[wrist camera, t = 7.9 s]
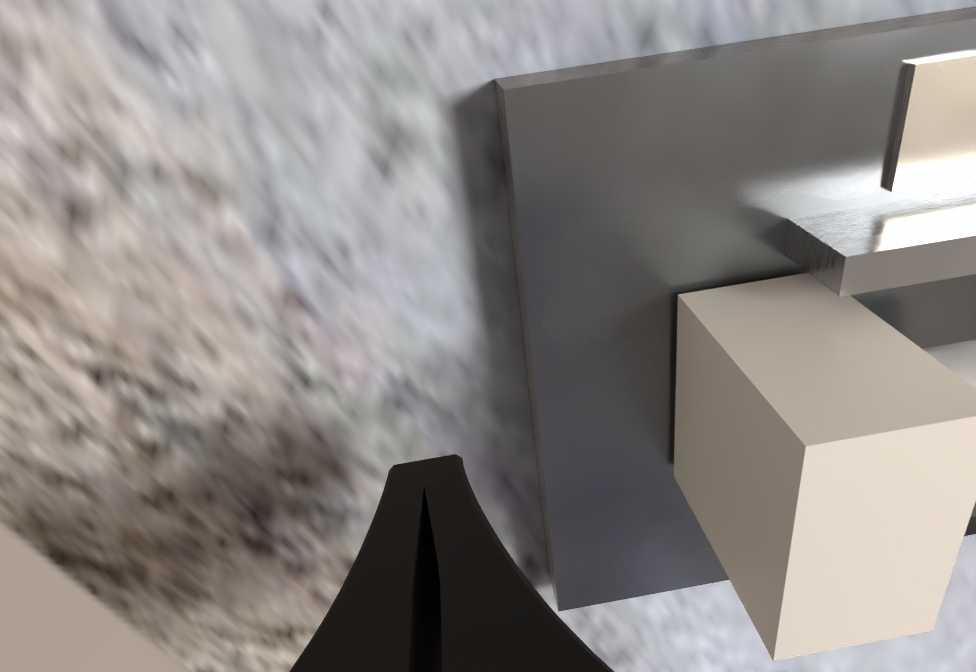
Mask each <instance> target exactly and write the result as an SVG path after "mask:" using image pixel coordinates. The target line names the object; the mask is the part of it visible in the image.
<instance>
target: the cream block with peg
mask: <svg viewBox="0 0 976 672" xmlns="http://www.w3.org/2000/svg"><path fill="white" fill-rule="evenodd" d="M674 477H675V479H676V481H677V483H678V485H679V486H680V488H681V490H682V492H683V494H684V496H685V498H686V499H687V501H688V503H689V505H690V507H691V509H692V511H693V512H694V514H695V516H696V518H697V520H698V522H699V524H700V525H701V527H702V529H703V531H704V533H705V535H706V537H707V538H708V540H709V542H710V544H711V546H712V548H713V550H714V551H715V553H716V555H717V557H718V559H719V561H720V563H721V564H722V566H723V568H724V570H725V572H726V574H727V576H728V578H729V579H730V581H731V583H732V585H733V587H734V589H735V591H736V592H737V594H738V596H739V598H740V600H741V602H742V604H743V605H744V607H745V609H746V611H747V613H748V615H749V617H750V618H751V620H752V622H753V624H754V626H755V628H756V630H757V631H758V633H759V635H760V637H761V639H762V641H763V643H764V644H765V646H766V648H767V650H768V652H769V654H770V656H771V657H772V659H773V661H776V660H781V659H786V658H792V657H797V656H802V655H807V654H812V653H818V652H823V651H828V650H833V649H838V648H844V647H849V646H854V645H859V644H865V643H870V642H875V641H880V640H885V639H891V638H896V637H901V636H906V635H911V634H917V633H922V632H927V631H932V630H933V628H934V625H935V622H936V619H937V616H938V613H939V610H940V607H941V604H942V601H943V598H944V595H945V592H946V589H947V586H948V583H949V580H950V577H951V574H952V571H953V568H954V565H955V562H956V559H957V556H958V553H959V550H960V547H961V544H962V541H963V538H964V535H965V532H966V529H967V526H968V523H969V520H970V517H971V514H972V511H973V508H974V505H975V502H976V340H970V341H964V342H958V343H952V344H946V345H941V346H935V347H929V348H923V349H922V348H920V347H919V346H917V345H916V344H915V343H913V342H912V341H911V340H909V339H908V338H907V337H905V336H904V335H903V334H901V333H900V332H899V331H897V330H896V329H895V328H893V327H892V326H890V325H889V324H888V323H886V322H885V321H884V320H882V319H881V318H880V317H878V316H877V315H876V314H874V313H873V312H872V311H870V310H869V309H867V308H866V307H865V306H863V305H862V304H861V303H859V302H858V301H857V300H855V299H854V298H853V297H851V296H850V295H848V296H842V297H839V296H837V295H836V294H835V293H834V292H832V291H831V290H830V289H828V288H827V287H826V286H824V285H823V284H822V283H820V282H819V281H818V280H816V279H815V278H814V277H813V276H811V275H810V274H809V273H804V274H798V275H792V276H786V277H780V278H774V279H768V280H762V281H756V282H750V283H744V284H738V285H732V286H726V287H720V288H714V289H708V290H702V291H696V292H690V293H684V294H678V314H677V356H676V398H675V440H674Z"/></svg>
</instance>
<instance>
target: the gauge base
mask: <svg viewBox="0 0 976 672" xmlns="http://www.w3.org/2000/svg"><path fill="white" fill-rule="evenodd" d="M495 86H496V95H497V104H498V113H499V122H500V131H501V140H502V149H503V158H504V167H505V176H506V185H507V194H508V203H509V212H510V221H511V230H512V239H513V248H514V257H515V266H516V275H517V284H518V293H519V302H520V311H521V320H522V329H523V338H524V347H525V356H526V365H527V374H528V383H529V392H530V401H531V410H532V419H533V428H534V437H535V446H536V455H537V464H538V473H539V482H540V491H541V500H542V509H543V518H544V527H545V536H546V545H547V554H548V563H549V572H550V579H551V583H552V587H553V591H554V595H555V599H556V603H557V607H558V611H563V610H569V609H574V608H579V607H585V606H590V605H595V604H601V603H606V602H612V601H617V600H622V599H628V598H633V597H638V596H644V595H649V594H655V593H660V592H665V591H671V590H676V589H681V588H687V587H692V586H698V585H703V584H708V583H714V582H719V581H725V580H730V579H729V578H728V576H727V574H726V572H725V570H724V568H723V566H722V564H721V563H720V561H719V559H718V557H717V555H716V553H715V551H714V550H713V548H712V546H711V544H710V542H709V540H708V538H707V537H706V535H705V533H704V531H703V529H702V527H701V525H700V524H699V522H698V520H697V518H696V516H695V514H694V512H693V511H692V509H691V507H690V505H689V503H688V501H687V499H686V498H685V496H684V494H683V492H682V490H681V488H680V486H679V485H678V483H677V481H676V479H675V477H674V440H675V398H676V356H677V314H678V294H684V293H690V292H696V291H702V290H708V289H714V288H720V287H726V286H732V285H738V284H744V283H750V282H756V281H762V280H768V279H774V278H780V277H786V276H792V275H798V274H804V273H809V274H810V275H811V276H813V277H814V278H815V279H816V280H818V281H819V282H820V283H822V284H823V285H824V286H826V287H827V288H828V289H830V290H831V291H832V292H834V293H835V294H836V295H837V296H839V297H842V296H848V295H850V296H851V297H853V298H854V299H855V300H857V301H858V302H859V303H861V304H862V305H863V306H865V307H866V308H867V309H869V310H870V311H872V312H873V313H874V314H876V315H877V316H878V317H880V318H881V319H882V320H884V321H885V322H886V323H888V324H889V325H890V326H892V327H893V328H895V329H896V330H897V331H899V332H900V333H901V334H903V335H904V336H905V337H907V338H908V339H909V340H911V341H912V342H913V343H915V344H916V345H917V346H919V347H920V348H922V349H923V348H929V347H935V346H941V345H946V344H952V343H958V342H964V341H970V340H976V7H970V8H964V9H957V10H950V11H944V12H937V13H930V14H924V15H917V16H910V17H904V18H897V19H891V20H884V21H877V22H871V23H864V24H857V25H851V26H844V27H837V28H831V29H824V30H818V31H811V32H804V33H798V34H791V35H784V36H778V37H771V38H764V39H758V40H751V41H744V42H738V43H731V44H725V45H718V46H711V47H705V48H698V49H691V50H685V51H678V52H671V53H665V54H658V55H652V56H645V57H638V58H632V59H625V60H618V61H612V62H605V63H598V64H592V65H585V66H578V67H572V68H565V69H559V70H552V71H545V72H539V73H532V74H525V75H519V76H512V77H505V78H499V79H495ZM972 534H976V502H975V505H974V508H973V511H972V514H971V517H970V520H969V523H968V526H967V529H966V532H965V535H964V536H967V535H972Z"/></svg>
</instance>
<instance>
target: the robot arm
mask: <svg viewBox="0 0 976 672" xmlns="http://www.w3.org/2000/svg"><path fill="white" fill-rule="evenodd" d="M290 672H614V671H613V670H612V669H611V668H610V667H609V666H607V665H606V664H605V663H604V662H603V661H602V660H601V659H600V658H599V657H598V656H597V655H596V654H594V653H593V652H592V651H591V650H590V649H589V648H588V647H587V646H586V645H585V644H584V642H583V641H582V640H581V639H580V638H579V637H578V636H577V635H576V634H575V633H574V632H573V631H572V630H571V629H570V628H569V627H568V626H567V625H566V624H565V623H564V622H563V621H562V620H561V619H560V618H559V617H558V616H557V614H556V613H555V612H554V611H553V610H552V609H551V608H550V606H549V605H548V604H547V603H546V602H545V601H544V599H543V598H542V597H541V596H540V595H539V593H538V592H537V591H536V590H535V588H534V587H533V586H532V585H531V583H530V582H529V581H528V580H527V578H526V577H525V576H524V574H523V573H522V572H521V570H520V569H519V568H518V566H517V565H516V563H515V562H514V561H513V559H512V558H511V556H510V555H509V553H508V552H507V550H506V549H505V547H504V546H503V544H502V543H501V541H500V540H499V538H498V536H497V535H496V533H495V532H494V530H493V528H492V526H491V525H490V523H489V521H488V520H487V518H486V516H485V514H484V513H483V511H482V509H481V507H480V505H479V503H478V501H477V499H476V497H475V495H474V493H473V491H472V488H471V486H470V484H469V481H468V479H467V476H466V473H465V470H464V466H463V461H462V458H461V457H459V456H458V455H456V454H454V455H449V456H443V457H437V458H432V459H426V460H420V461H414V462H409V463H403V464H397V465H393V467H392V468H391V469H390V470H389V473H388V477H387V481H386V484H385V487H384V491H383V494H382V497H381V499H380V502H379V505H378V508H377V510H376V513H375V516H374V518H373V521H372V523H371V526H370V528H369V530H368V533H367V535H366V537H365V540H364V542H363V544H362V547H361V549H360V551H359V553H358V556H357V558H356V560H355V562H354V564H353V566H352V568H351V570H350V572H349V574H348V576H347V578H346V580H345V582H344V584H343V586H342V588H341V590H340V592H339V593H338V595H337V597H336V599H335V601H334V602H333V604H332V606H331V608H330V609H329V611H328V613H327V615H326V616H325V618H324V620H323V621H322V623H321V625H320V626H319V628H318V630H317V631H316V633H315V634H314V636H313V638H312V639H311V641H310V642H309V644H308V645H307V647H306V648H305V650H304V651H303V653H302V654H301V655H300V657H299V658H298V660H297V661H296V663H295V664H294V666H293V667H292V669H291V670H290Z"/></svg>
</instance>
